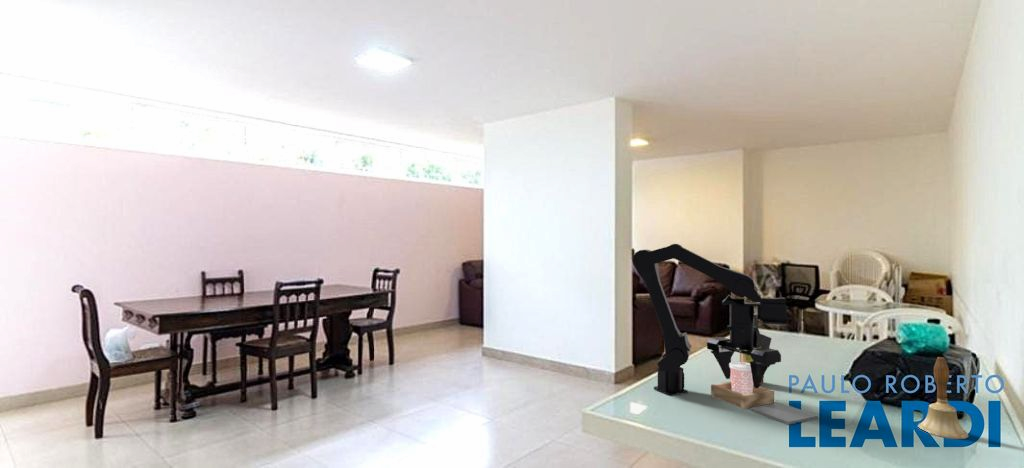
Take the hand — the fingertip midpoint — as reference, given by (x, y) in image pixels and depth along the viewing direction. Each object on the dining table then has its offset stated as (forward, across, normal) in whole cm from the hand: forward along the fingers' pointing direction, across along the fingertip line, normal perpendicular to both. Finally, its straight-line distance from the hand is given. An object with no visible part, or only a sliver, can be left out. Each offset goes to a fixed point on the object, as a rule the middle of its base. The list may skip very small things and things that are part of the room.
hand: (741, 383), depth 130 cm
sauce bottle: (+4, +10, -15) cm, 19 cm away
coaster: (+4, -12, 0) cm, 13 cm away
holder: (+4, 0, 0) cm, 4 cm away
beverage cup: (+4, 0, 0) cm, 4 cm away
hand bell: (+4, -33, -22) cm, 40 cm away
